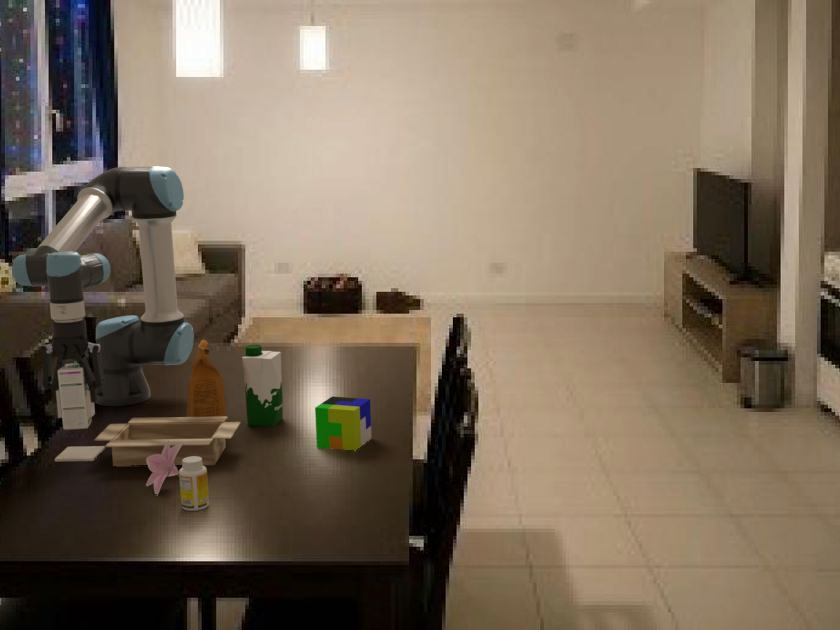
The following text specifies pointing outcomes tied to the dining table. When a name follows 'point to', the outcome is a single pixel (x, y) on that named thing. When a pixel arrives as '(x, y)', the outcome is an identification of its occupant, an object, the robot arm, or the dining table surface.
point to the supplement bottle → (193, 484)
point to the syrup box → (73, 397)
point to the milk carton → (263, 386)
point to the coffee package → (205, 387)
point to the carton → (168, 438)
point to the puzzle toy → (343, 423)
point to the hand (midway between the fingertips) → (76, 415)
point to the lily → (162, 466)
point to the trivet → (80, 453)
